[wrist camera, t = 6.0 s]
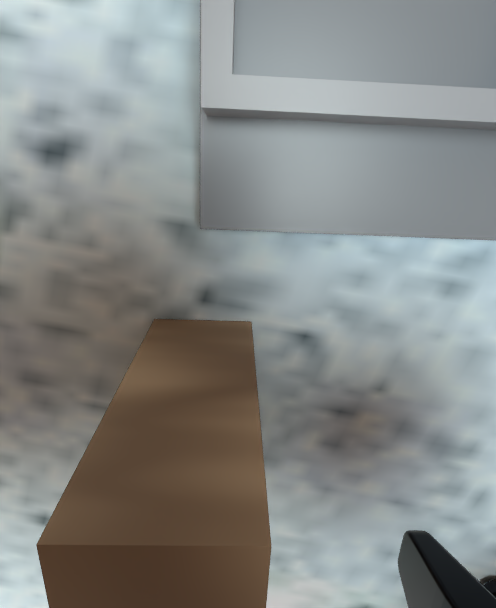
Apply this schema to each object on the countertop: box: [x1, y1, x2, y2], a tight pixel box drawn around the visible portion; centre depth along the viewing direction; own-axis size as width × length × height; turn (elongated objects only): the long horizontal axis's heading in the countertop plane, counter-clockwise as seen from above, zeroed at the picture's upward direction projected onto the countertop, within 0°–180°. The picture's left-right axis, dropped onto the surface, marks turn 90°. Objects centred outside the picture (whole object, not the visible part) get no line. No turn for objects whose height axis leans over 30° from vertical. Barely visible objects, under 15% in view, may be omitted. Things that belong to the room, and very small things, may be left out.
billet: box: [37, 319, 271, 608], centre depth 9 cm, size 3×5×8 cm, turn 178°
